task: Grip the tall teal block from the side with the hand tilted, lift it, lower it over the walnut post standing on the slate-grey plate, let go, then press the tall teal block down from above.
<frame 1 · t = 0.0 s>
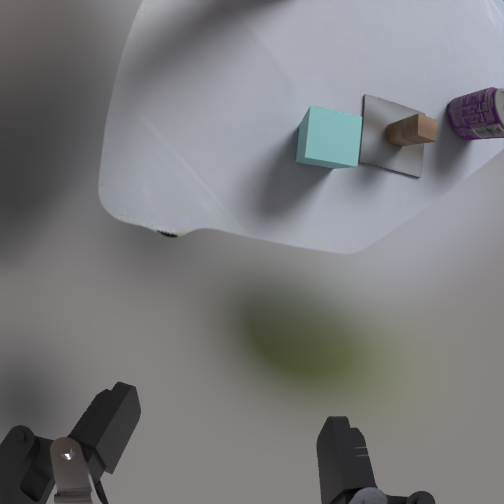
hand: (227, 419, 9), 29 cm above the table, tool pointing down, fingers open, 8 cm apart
post: (393, 136, 32), on the table
tall teal block: (316, 146, 33), on the table
beverage can: (460, 119, 30), on the table
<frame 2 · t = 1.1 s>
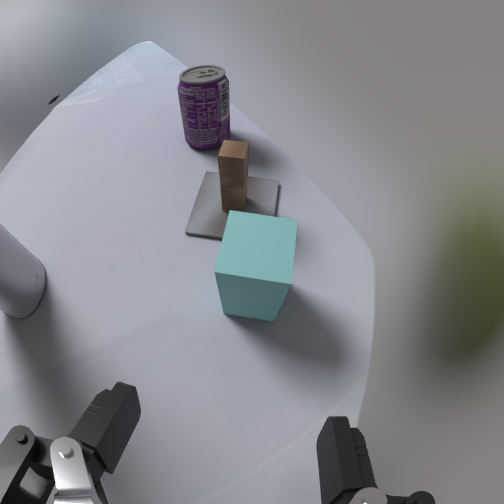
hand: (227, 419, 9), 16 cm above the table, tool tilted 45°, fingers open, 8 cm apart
post: (234, 206, 34), on the table
tall teal block: (252, 294, 29), on the table
beverage can: (207, 139, 41), on the table
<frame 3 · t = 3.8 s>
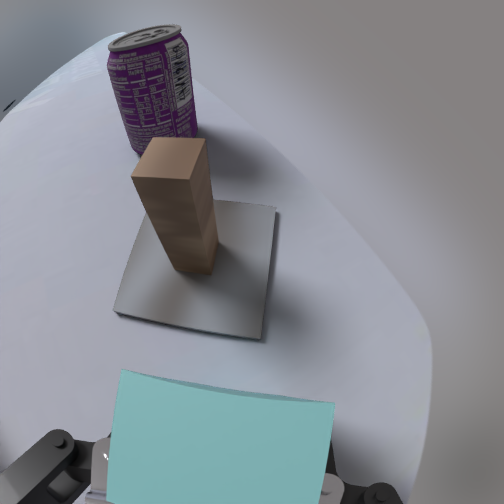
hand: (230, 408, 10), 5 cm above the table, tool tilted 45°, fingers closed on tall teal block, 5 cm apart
post: (197, 258, 19), on the table
tall teal block: (230, 429, 14), on the table, touching gripper
beverage can: (165, 140, 26), on the table
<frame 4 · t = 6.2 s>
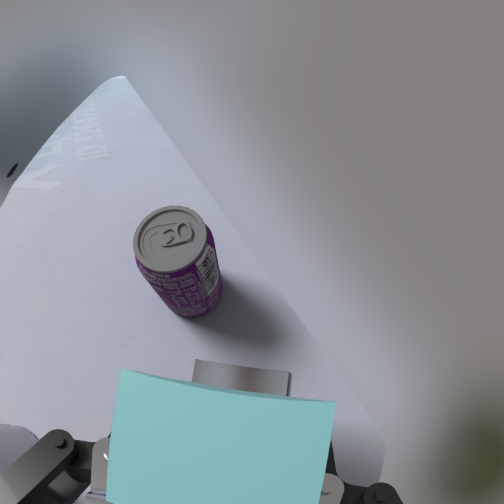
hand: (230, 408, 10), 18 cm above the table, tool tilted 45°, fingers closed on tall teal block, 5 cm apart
post: (235, 410, 25), on the table
tall teal block: (230, 429, 14), point 13 cm above the table, touching gripper
beverage can: (193, 290, 32), on the table
when the fingers open (6 cm above the table, at t = 8.8 s): tall teal block stays where it is, resting on post.
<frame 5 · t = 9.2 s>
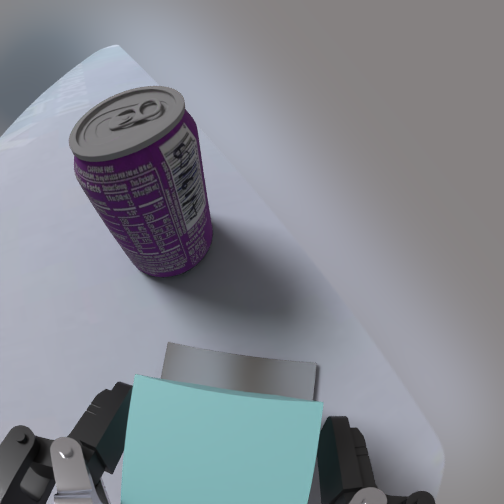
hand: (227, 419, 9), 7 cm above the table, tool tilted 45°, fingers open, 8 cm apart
post: (230, 426, 15), on the table
tall teal block: (231, 427, 14), resting on post
beverage can: (170, 241, 22), on the table
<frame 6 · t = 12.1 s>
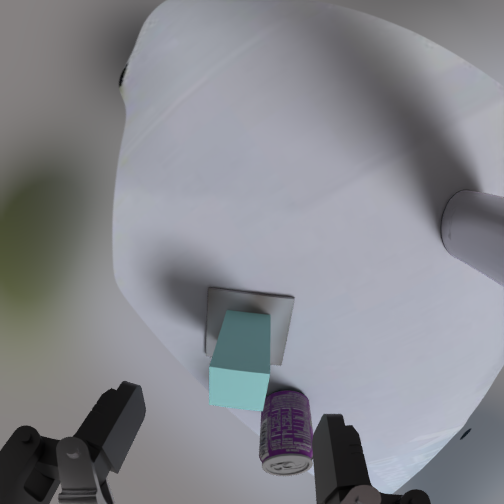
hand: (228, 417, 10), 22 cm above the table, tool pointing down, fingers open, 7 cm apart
post: (247, 328, 33), on the table
tall teal block: (246, 330, 33), resting on post
beverage can: (285, 401, 37), on the table
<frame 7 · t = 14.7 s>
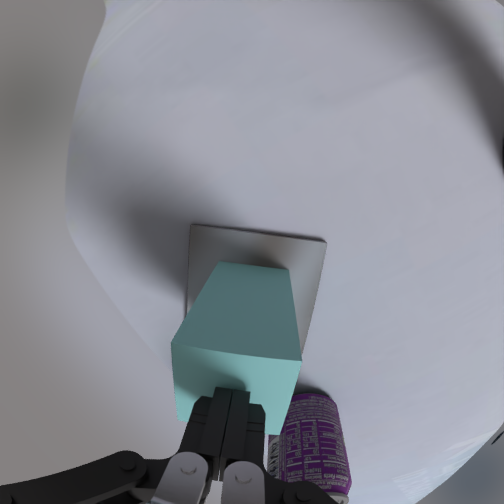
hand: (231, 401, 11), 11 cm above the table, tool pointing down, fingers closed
post: (251, 294, 21), on the table
tall teal block: (250, 297, 21), resting on post
beverage can: (303, 409, 25), on the table
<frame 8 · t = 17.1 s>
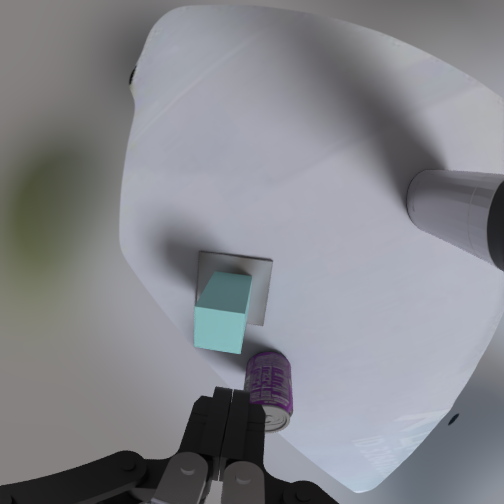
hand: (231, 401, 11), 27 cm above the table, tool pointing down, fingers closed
post: (232, 289, 38), on the table
tall teal block: (231, 290, 38), resting on post
beverage can: (268, 365, 42), on the table
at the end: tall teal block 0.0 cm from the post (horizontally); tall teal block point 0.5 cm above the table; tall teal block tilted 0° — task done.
